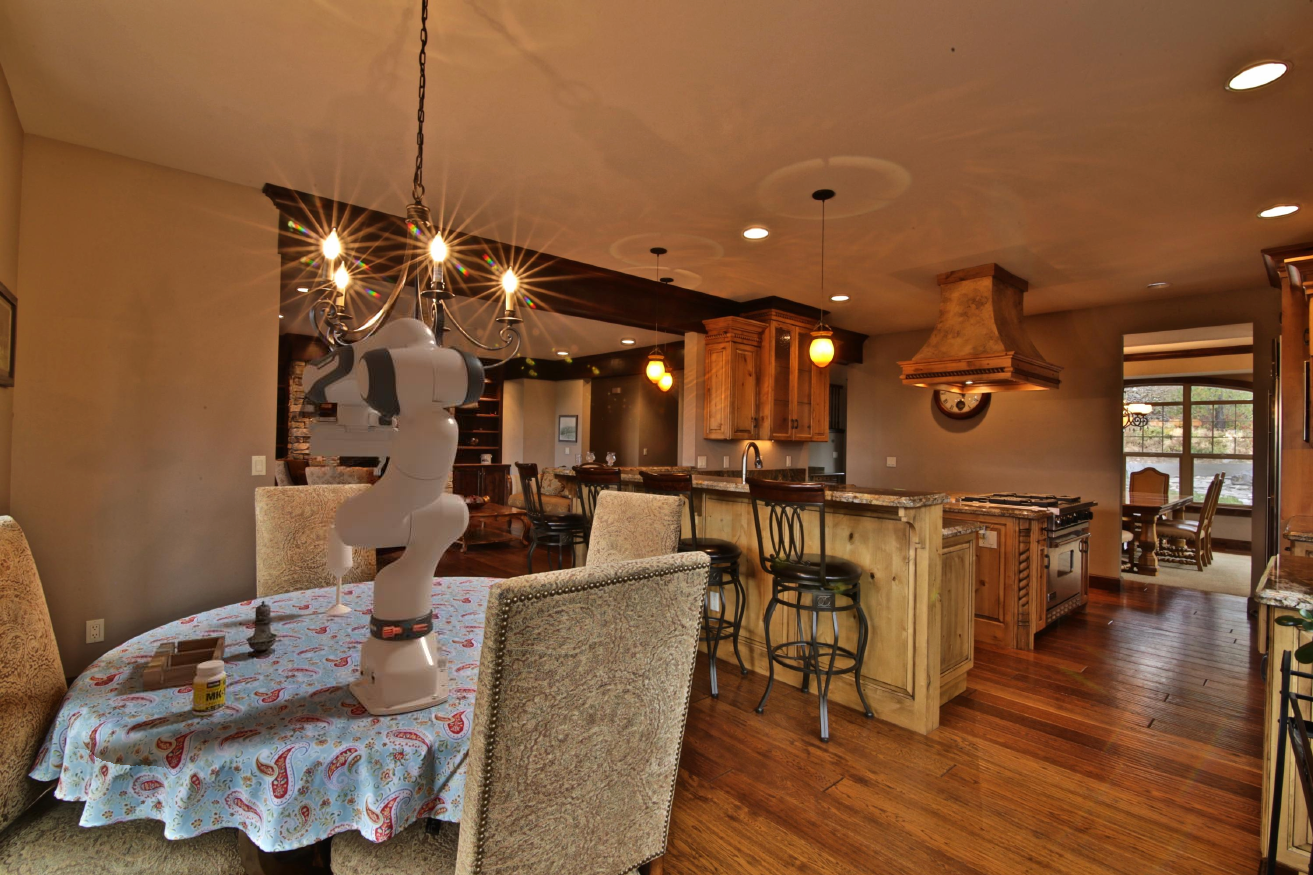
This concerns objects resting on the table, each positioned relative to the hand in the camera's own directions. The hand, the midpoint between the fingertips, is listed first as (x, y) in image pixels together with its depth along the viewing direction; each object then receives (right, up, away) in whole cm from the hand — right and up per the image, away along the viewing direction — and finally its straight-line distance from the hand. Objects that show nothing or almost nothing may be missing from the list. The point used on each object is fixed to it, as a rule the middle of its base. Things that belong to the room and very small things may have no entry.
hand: (355, 475), depth 146 cm
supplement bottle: (-8, -41, -37) cm, 56 cm away
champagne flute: (-16, -40, +23) cm, 49 cm away
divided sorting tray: (-26, -40, -20) cm, 51 cm away
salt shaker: (-16, -40, -10) cm, 44 cm away
